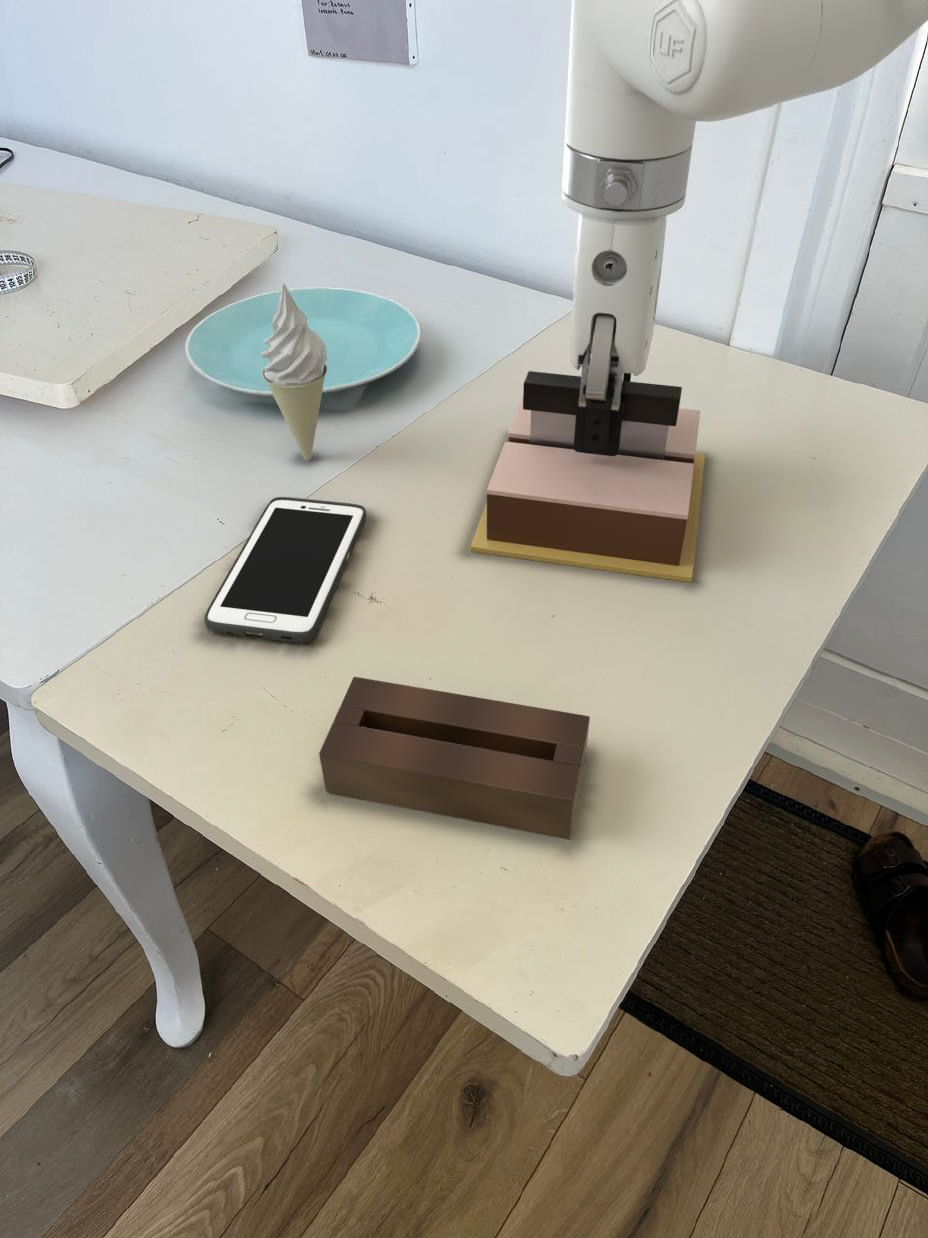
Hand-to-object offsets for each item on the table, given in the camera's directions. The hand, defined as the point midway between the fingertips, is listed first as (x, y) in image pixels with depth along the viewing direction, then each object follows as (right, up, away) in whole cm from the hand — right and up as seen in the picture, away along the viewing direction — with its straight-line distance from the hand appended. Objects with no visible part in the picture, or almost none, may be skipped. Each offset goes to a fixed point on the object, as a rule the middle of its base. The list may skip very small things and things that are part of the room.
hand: (600, 433), depth 70 cm
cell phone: (-22, -10, -1) cm, 25 cm away
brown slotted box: (-10, -23, -15) cm, 29 cm away
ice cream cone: (-23, -1, +9) cm, 25 cm away
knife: (0, -4, +4) cm, 6 cm away
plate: (-25, +11, +22) cm, 35 cm away
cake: (0, -5, +4) cm, 6 cm away
